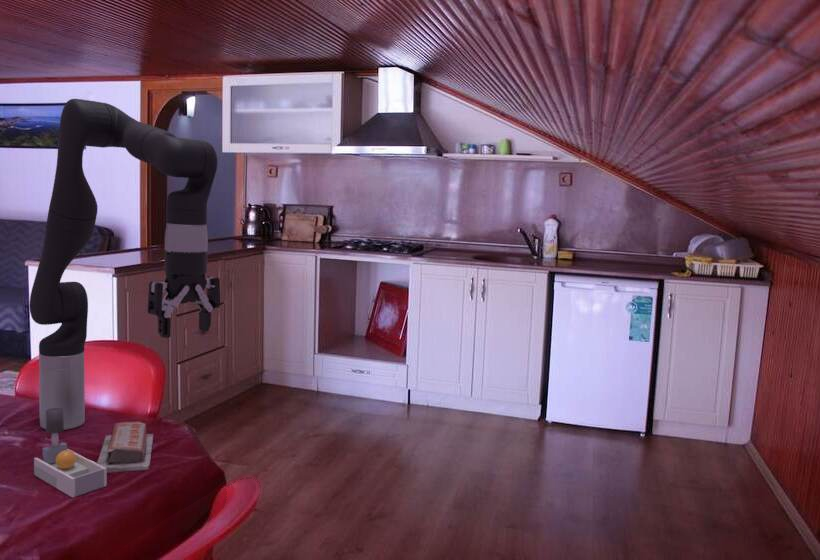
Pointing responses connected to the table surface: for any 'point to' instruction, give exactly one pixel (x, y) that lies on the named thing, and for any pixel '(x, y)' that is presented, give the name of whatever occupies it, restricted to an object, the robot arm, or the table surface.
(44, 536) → the table surface
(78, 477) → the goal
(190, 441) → the table surface
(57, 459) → the ball
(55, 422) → the striker
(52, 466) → the tray
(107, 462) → the packaged product
